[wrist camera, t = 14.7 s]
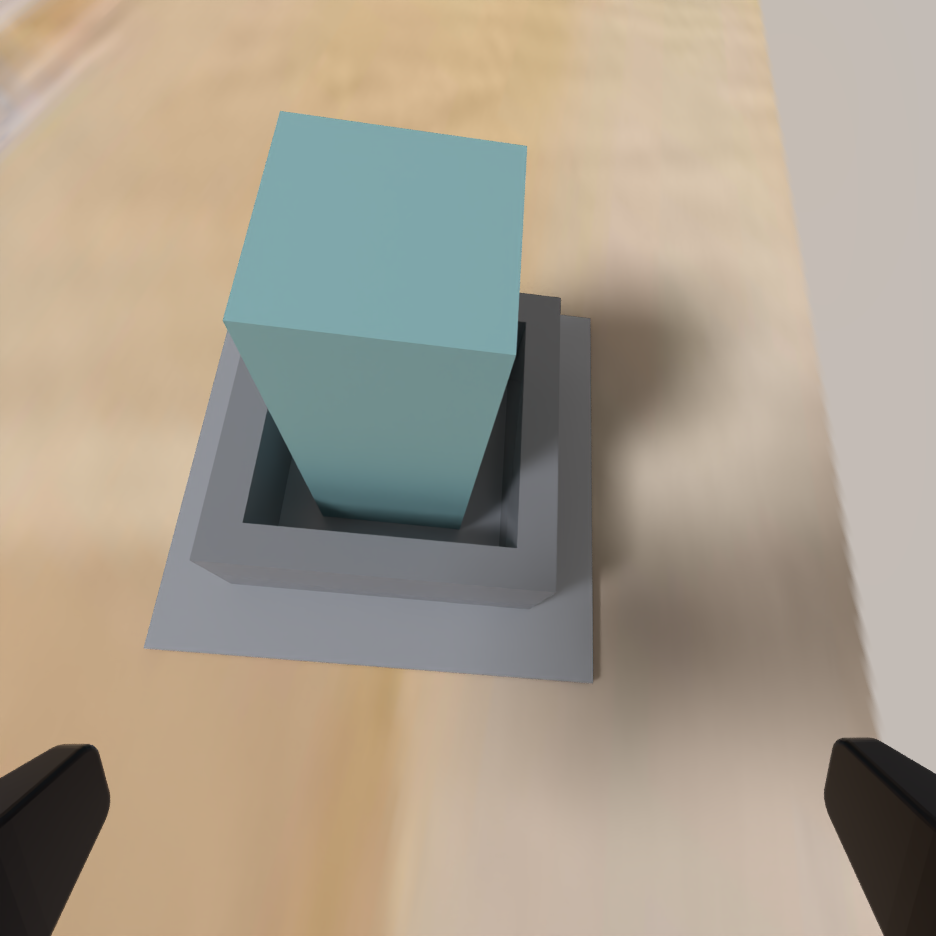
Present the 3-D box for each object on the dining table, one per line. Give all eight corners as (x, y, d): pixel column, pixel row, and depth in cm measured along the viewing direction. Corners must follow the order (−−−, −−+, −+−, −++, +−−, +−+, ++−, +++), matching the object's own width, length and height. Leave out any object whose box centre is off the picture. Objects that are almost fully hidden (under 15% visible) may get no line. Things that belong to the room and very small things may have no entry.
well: (589, 683, 20) (636, 683, 16) (148, 649, 19) (77, 639, 15) (587, 323, 25) (622, 254, 21) (243, 282, 24) (211, 201, 20)
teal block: (459, 529, 21) (515, 355, 10) (322, 516, 21) (222, 320, 10) (469, 408, 23) (527, 146, 12) (344, 394, 23) (280, 111, 11)
